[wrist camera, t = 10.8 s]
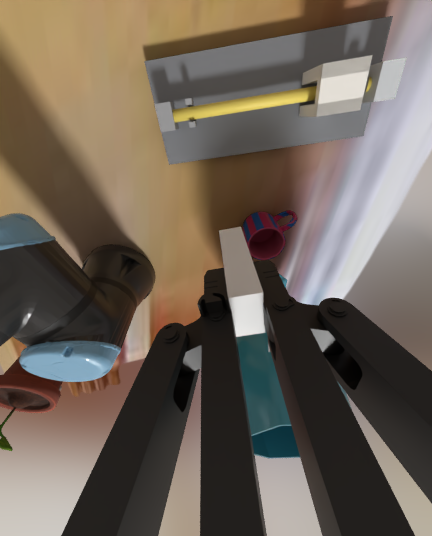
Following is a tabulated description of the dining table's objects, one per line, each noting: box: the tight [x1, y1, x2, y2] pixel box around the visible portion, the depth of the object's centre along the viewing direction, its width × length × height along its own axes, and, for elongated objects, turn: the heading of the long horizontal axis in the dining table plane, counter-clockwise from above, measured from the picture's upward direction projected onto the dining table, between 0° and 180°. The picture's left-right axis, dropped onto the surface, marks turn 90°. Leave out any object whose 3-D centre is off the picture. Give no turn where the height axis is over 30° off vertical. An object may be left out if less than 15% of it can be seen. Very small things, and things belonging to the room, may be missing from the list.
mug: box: [243, 210, 297, 260], centre depth 39 cm, size 7×10×7 cm
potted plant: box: [0, 357, 63, 451], centre depth 55 cm, size 18×22×25 cm
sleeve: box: [299, 55, 372, 117], centre depth 26 cm, size 5×5×6 cm
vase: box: [236, 274, 352, 458], centre depth 40 cm, size 17×17×30 cm
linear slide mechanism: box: [145, 16, 407, 165], centre depth 28 cm, size 30×12×6 cm, turn 97°
